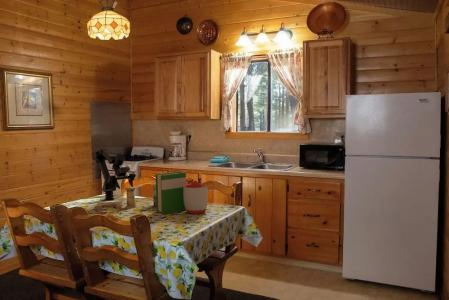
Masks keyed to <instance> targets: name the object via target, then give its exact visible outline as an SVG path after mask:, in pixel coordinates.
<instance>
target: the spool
mask: <svg viewBox="0 0 449 300" xmlns="http://www.w3.org/2000/svg"><path fill="white" fill-rule="evenodd" d="M124 189H125V191H126V194H125V195H126V205H125V209H135V208H136V207H137V205H136V198H135V195H136V194H135V190H136V187H135V186H133V187H131V186H130V187H129V186H128V187H125V188H124Z"/></svg>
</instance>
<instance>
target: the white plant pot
mask: <svg viewBox="0 0 449 300" xmlns="http://www.w3.org/2000/svg"><path fill="white" fill-rule="evenodd" d="M208 186H209V185H208V184H205V185H204V186H203V184H202V183H200V182H198V181H197V180H194V181H192V183H186V184H185V185H183V196H184V206H185V209H186V210H185V211H186V213H188V214H192V215H197V214H203V213H205V212H206V211H207V206H208V203H209V202H208V200H209V199H208V197H209V196H208V193H209V192H210V189H209V188H208Z"/></svg>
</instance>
